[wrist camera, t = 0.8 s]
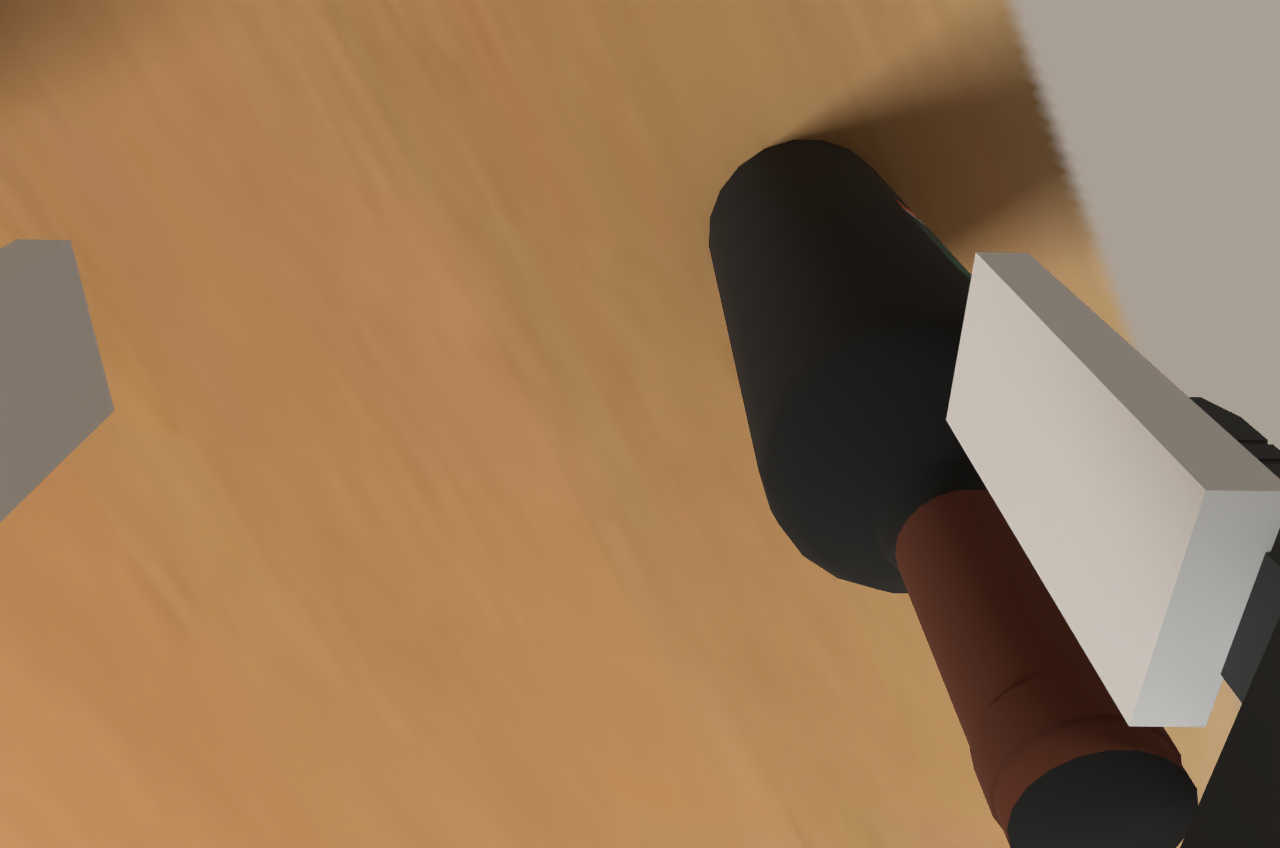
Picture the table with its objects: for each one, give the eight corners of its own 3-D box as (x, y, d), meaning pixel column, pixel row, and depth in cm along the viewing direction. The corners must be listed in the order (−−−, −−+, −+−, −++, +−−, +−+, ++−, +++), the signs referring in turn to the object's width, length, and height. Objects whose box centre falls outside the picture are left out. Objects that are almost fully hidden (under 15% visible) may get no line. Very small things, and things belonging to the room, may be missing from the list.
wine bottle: (768, 104, 39) (1059, 523, 12) (928, 193, 41) (1493, 736, 14) (675, 270, 42) (746, 894, 15) (828, 346, 44) (1132, 1032, 17)
